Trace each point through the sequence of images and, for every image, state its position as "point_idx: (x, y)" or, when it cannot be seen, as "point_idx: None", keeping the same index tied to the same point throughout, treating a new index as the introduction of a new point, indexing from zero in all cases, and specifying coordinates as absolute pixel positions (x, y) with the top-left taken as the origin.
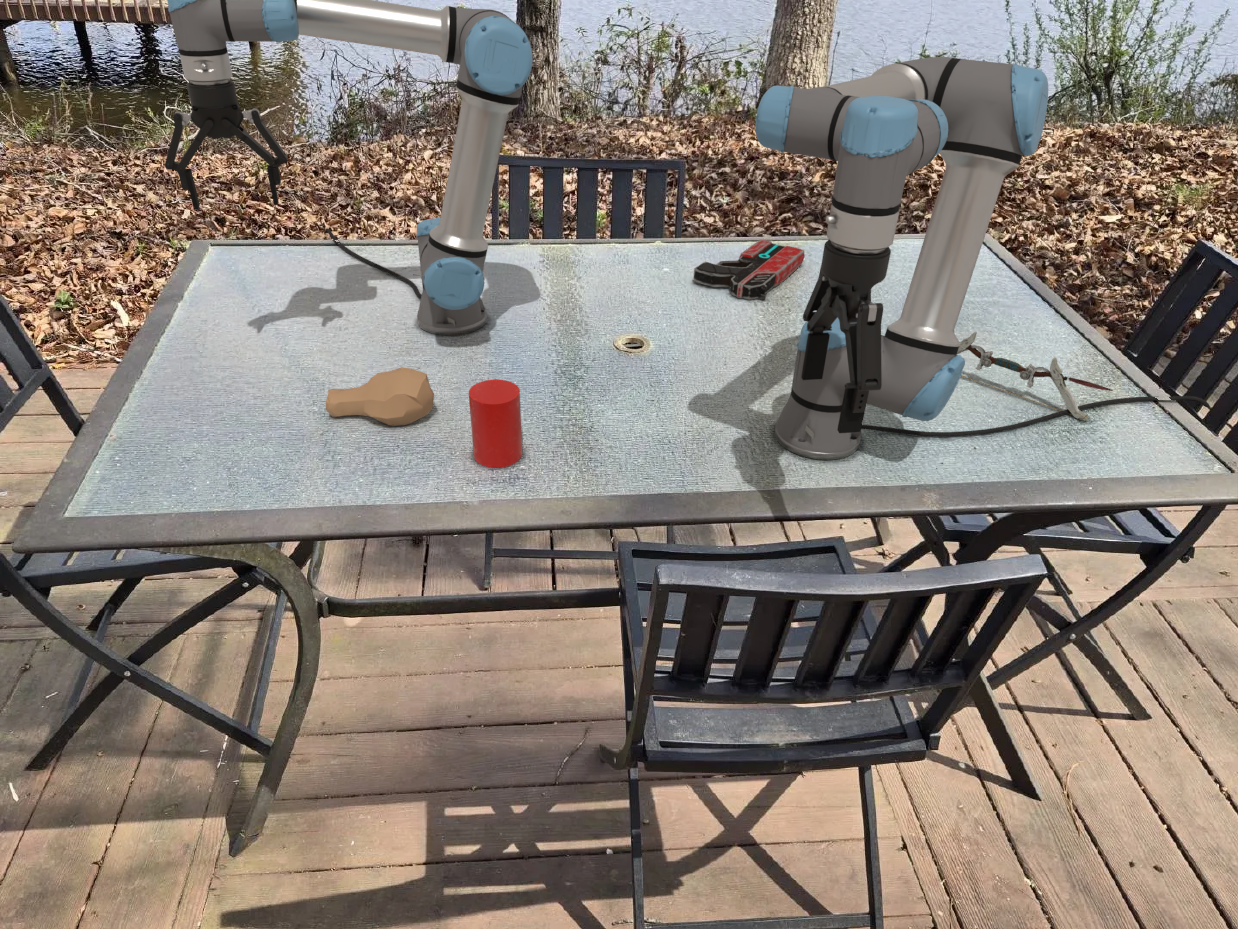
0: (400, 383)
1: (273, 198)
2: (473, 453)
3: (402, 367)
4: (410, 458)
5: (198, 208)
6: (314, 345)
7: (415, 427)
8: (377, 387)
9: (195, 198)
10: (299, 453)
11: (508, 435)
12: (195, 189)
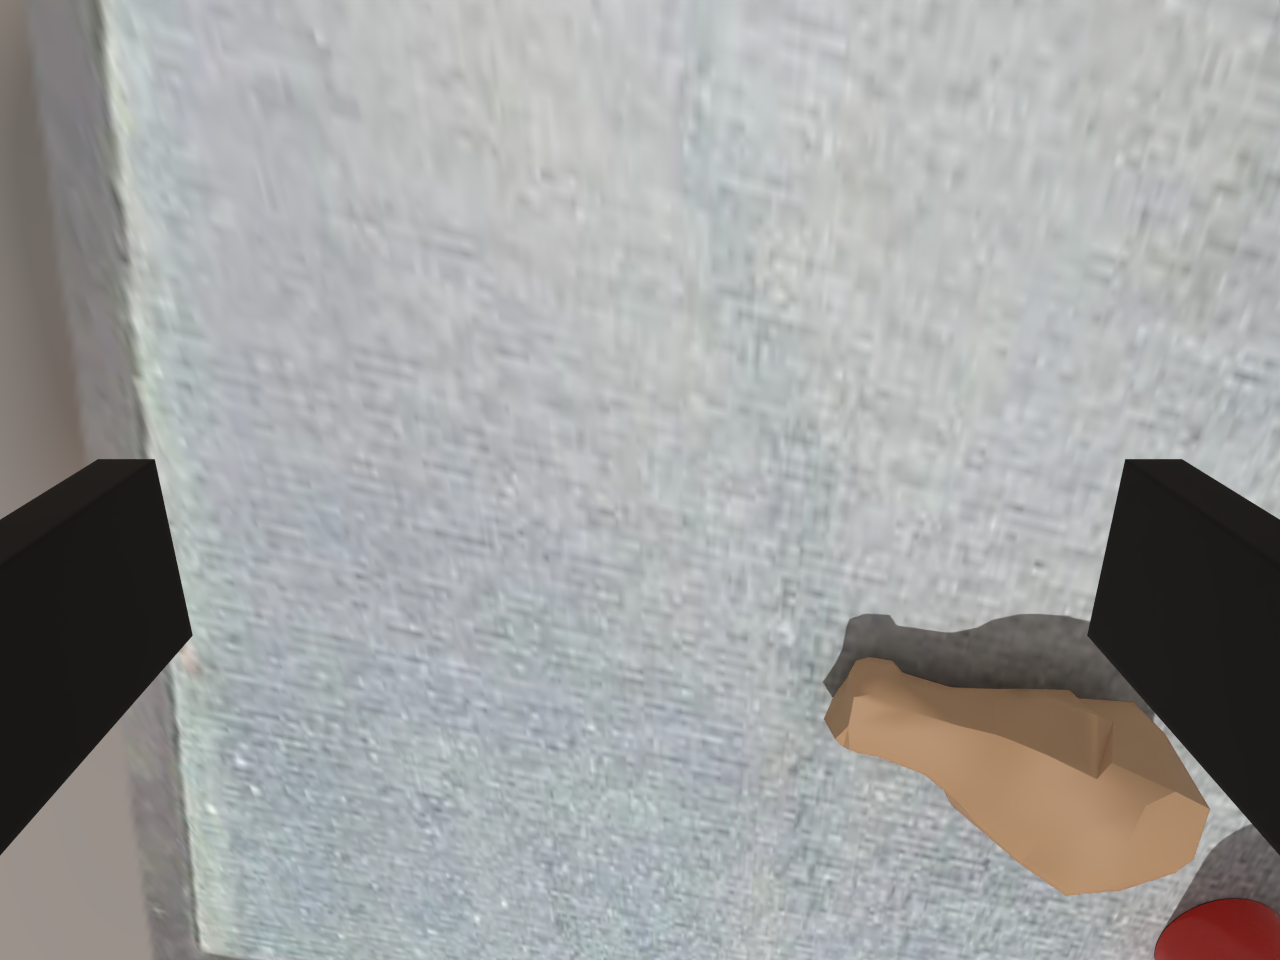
0: (1103, 879)
1: (1139, 687)
2: (1162, 948)
3: (1146, 807)
4: (1002, 916)
5: (185, 620)
6: (828, 102)
7: None
8: (1021, 828)
9: (113, 721)
10: (726, 840)
11: None
12: (20, 616)
